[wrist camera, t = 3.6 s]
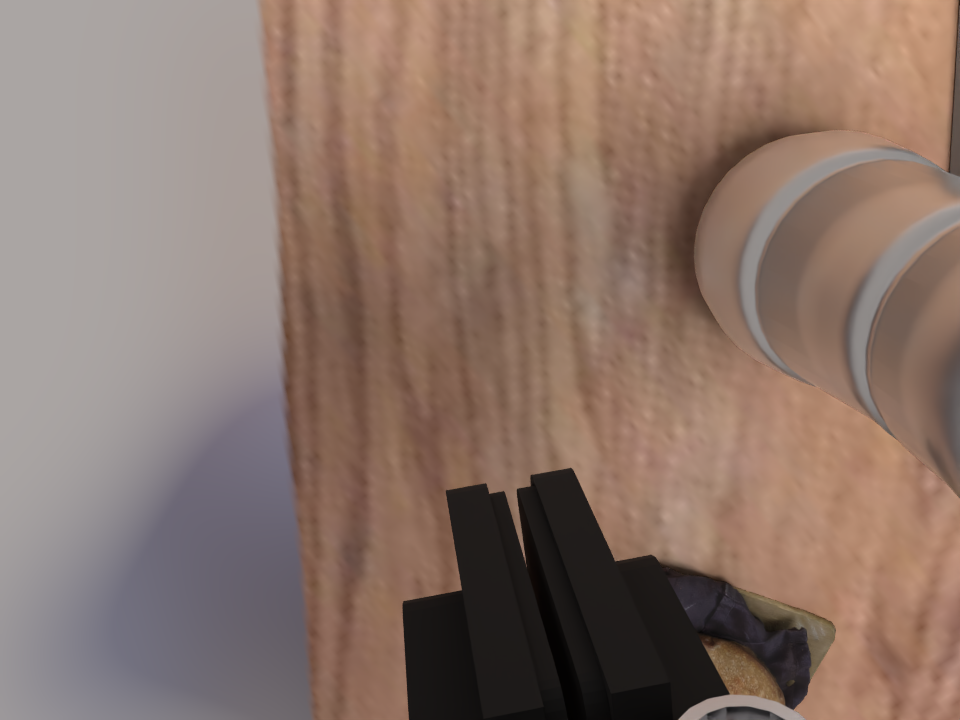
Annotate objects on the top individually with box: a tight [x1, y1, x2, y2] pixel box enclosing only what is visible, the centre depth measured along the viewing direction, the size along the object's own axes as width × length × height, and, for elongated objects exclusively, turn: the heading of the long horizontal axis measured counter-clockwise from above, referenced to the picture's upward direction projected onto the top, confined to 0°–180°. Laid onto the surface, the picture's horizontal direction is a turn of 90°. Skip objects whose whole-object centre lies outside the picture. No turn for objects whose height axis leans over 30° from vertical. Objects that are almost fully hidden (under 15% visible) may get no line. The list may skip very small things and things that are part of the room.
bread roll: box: [662, 567, 836, 710], centre depth 29 cm, size 11×8×4 cm
